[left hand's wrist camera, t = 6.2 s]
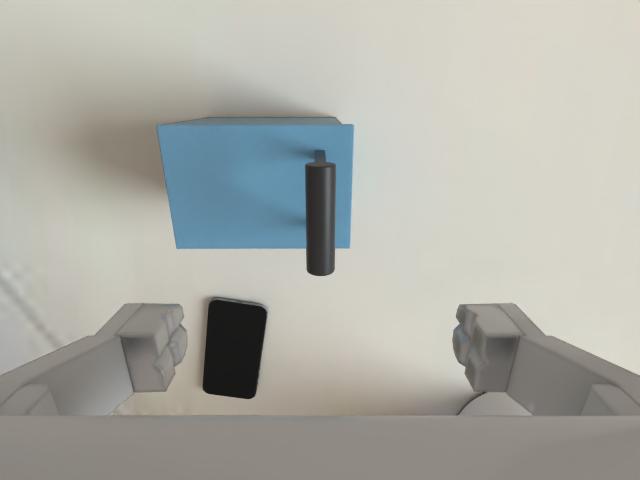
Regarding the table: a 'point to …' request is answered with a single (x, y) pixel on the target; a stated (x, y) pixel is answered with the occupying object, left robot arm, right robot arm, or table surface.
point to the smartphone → (233, 347)
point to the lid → (260, 187)
